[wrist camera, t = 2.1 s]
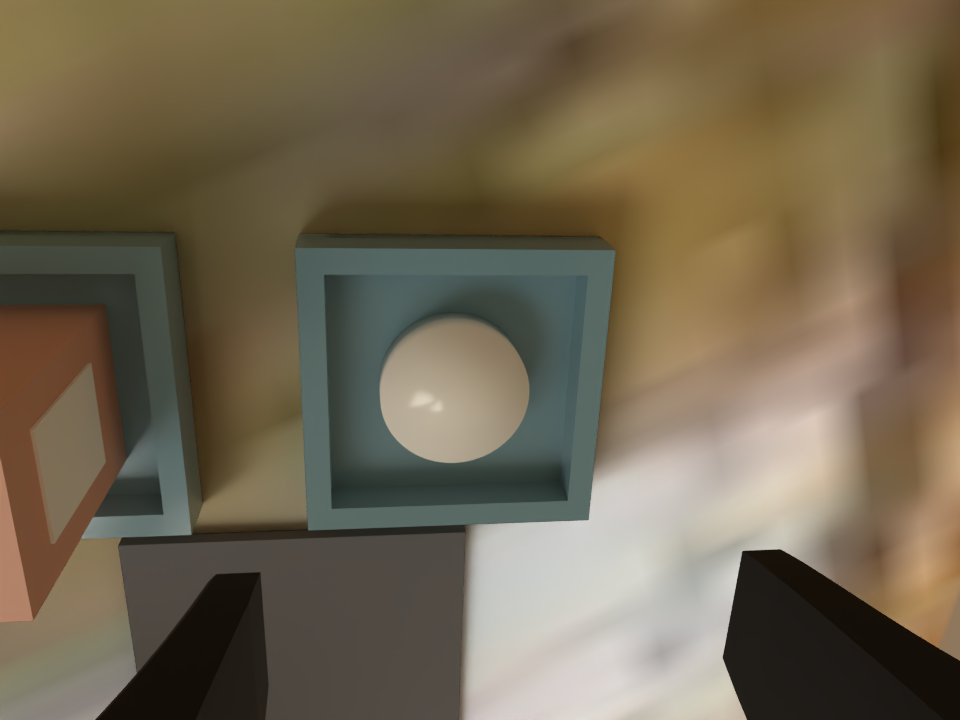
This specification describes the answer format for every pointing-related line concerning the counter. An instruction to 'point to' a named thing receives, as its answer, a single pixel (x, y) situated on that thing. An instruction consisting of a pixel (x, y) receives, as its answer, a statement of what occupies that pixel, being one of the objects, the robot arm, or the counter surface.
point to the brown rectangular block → (52, 443)
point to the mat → (324, 613)
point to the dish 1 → (126, 362)
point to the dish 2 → (432, 290)
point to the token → (453, 387)
